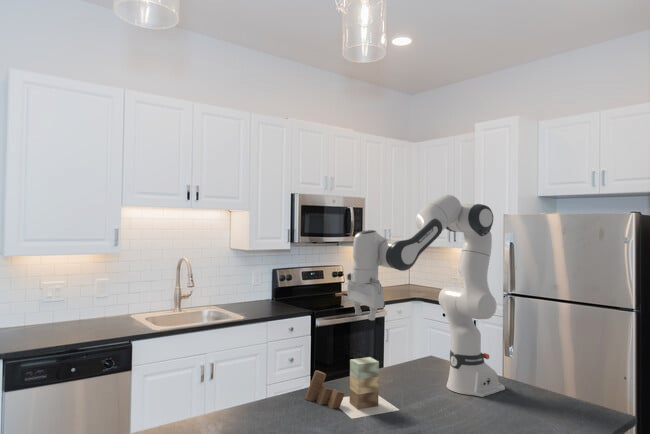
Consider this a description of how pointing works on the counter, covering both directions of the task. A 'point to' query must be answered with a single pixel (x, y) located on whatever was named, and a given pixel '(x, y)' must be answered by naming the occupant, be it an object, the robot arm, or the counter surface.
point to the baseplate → (354, 413)
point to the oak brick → (364, 385)
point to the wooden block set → (323, 392)
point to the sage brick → (364, 368)
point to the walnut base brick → (364, 399)
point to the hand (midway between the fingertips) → (364, 317)
